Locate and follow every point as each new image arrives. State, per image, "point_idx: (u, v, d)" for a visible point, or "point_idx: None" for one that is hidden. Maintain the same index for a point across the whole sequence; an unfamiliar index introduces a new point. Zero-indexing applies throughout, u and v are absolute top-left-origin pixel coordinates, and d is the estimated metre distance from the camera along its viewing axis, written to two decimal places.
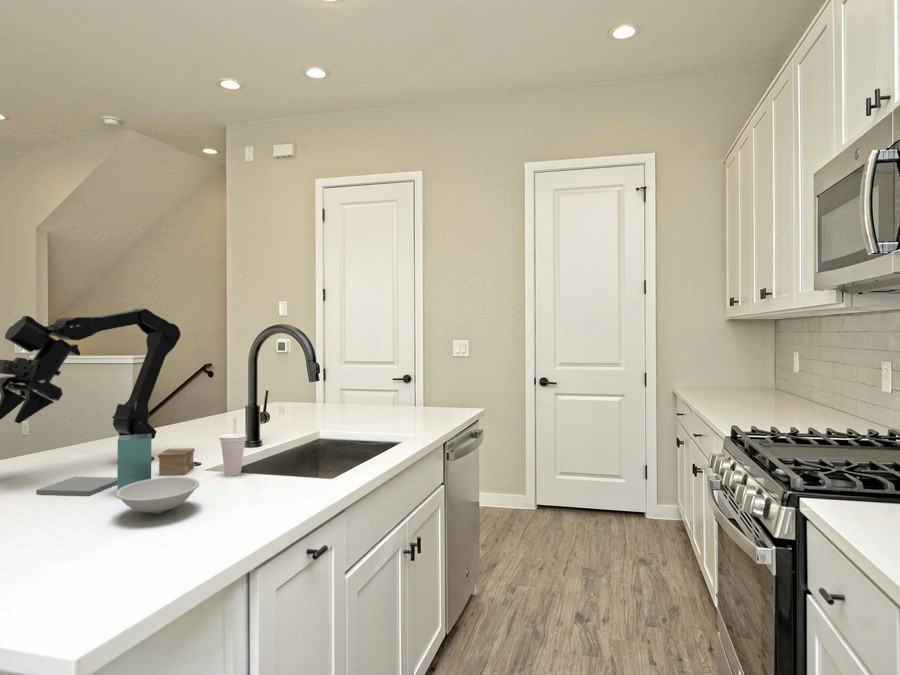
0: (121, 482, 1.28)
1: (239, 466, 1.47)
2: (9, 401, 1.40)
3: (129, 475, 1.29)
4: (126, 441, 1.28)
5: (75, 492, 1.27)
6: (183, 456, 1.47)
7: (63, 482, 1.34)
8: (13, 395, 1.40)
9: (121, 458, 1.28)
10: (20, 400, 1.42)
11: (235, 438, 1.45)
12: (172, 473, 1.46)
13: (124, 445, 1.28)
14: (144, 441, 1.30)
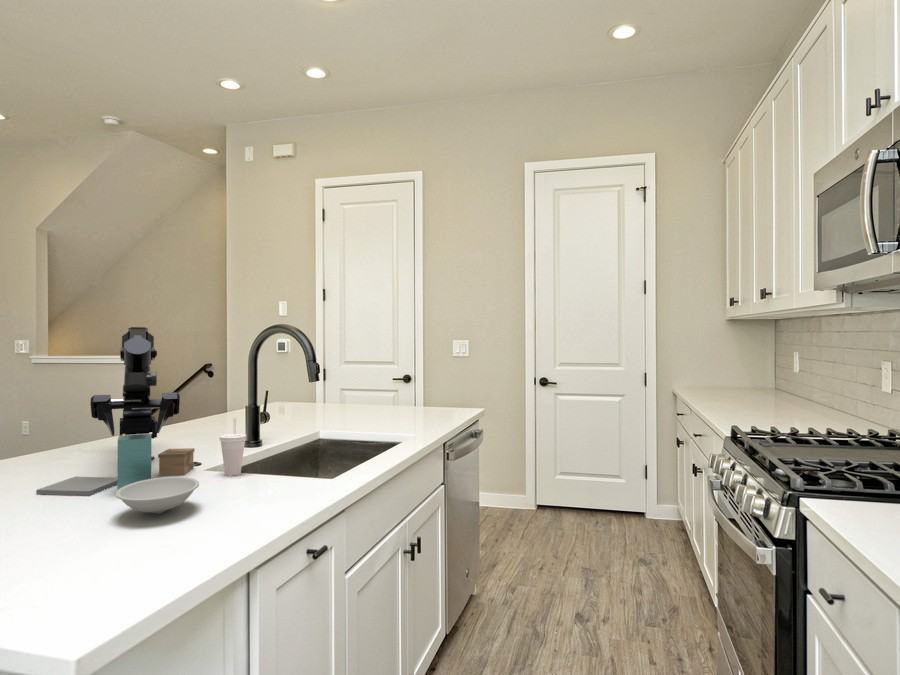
0: (121, 482, 1.28)
1: (239, 466, 1.47)
2: None
3: (129, 475, 1.29)
4: (126, 441, 1.28)
5: (75, 492, 1.27)
6: (183, 456, 1.47)
7: (63, 482, 1.34)
8: None
9: (121, 458, 1.28)
10: None
11: (235, 438, 1.45)
12: (172, 473, 1.46)
13: (124, 445, 1.28)
14: (144, 441, 1.30)
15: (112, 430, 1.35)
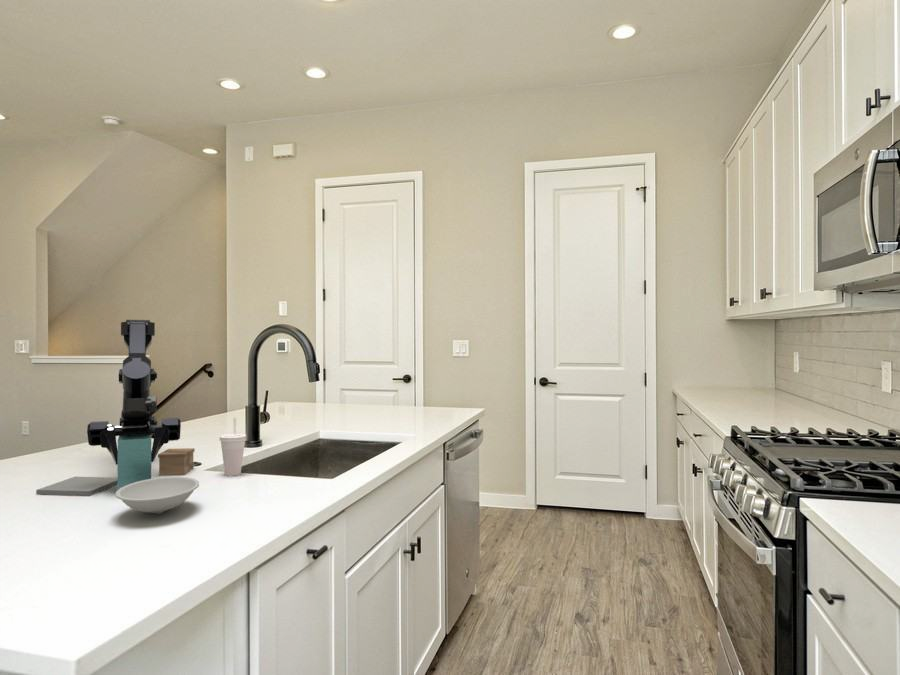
0: (121, 482, 1.28)
1: (239, 466, 1.47)
2: None
3: (129, 475, 1.29)
4: (126, 441, 1.28)
5: (75, 492, 1.27)
6: (183, 456, 1.47)
7: (63, 482, 1.34)
8: None
9: (121, 458, 1.28)
10: None
11: (235, 438, 1.45)
12: (172, 473, 1.46)
13: (124, 445, 1.28)
14: (144, 441, 1.30)
15: (116, 459, 1.29)
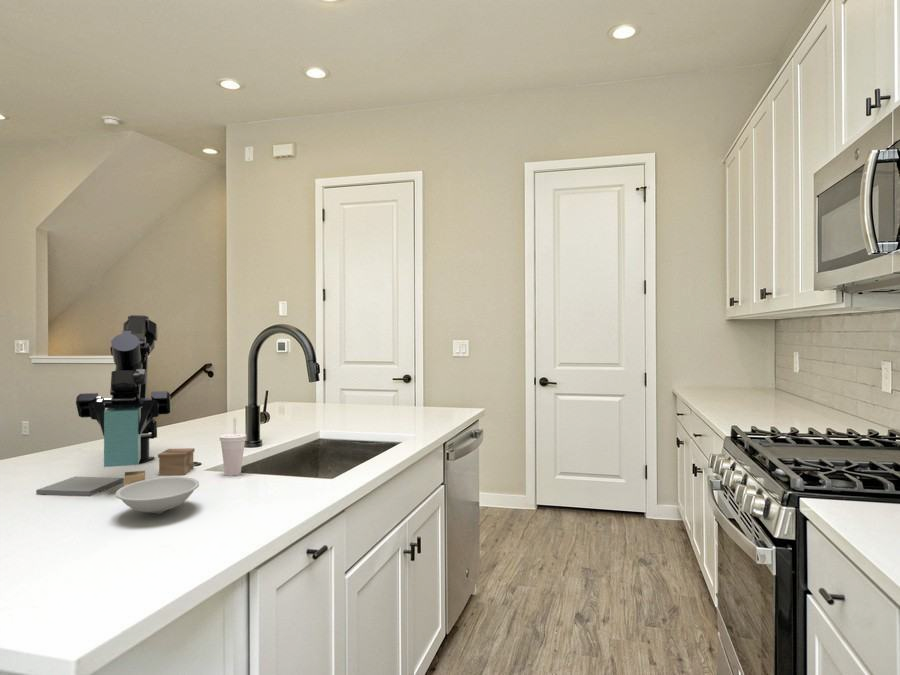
0: (108, 453, 1.28)
1: (239, 466, 1.47)
2: None
3: (116, 447, 1.29)
4: (112, 413, 1.28)
5: (75, 492, 1.27)
6: (183, 456, 1.47)
7: (63, 482, 1.34)
8: None
9: (108, 429, 1.28)
10: None
11: (235, 438, 1.45)
12: (172, 473, 1.46)
13: (111, 416, 1.28)
14: (131, 413, 1.30)
15: (103, 430, 1.29)
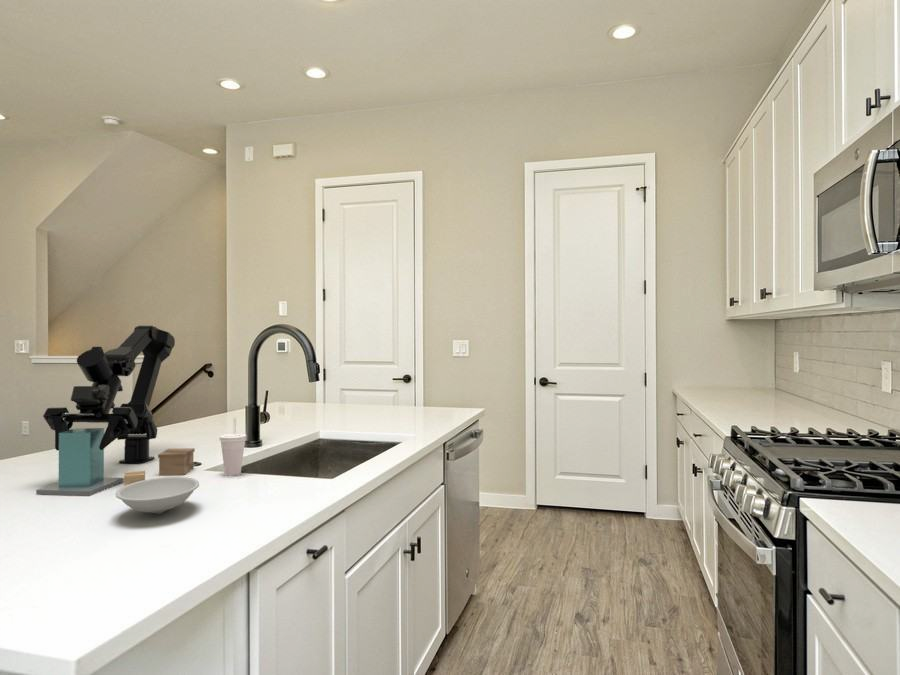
0: (62, 474, 1.30)
1: (239, 466, 1.47)
2: None
3: (69, 468, 1.30)
4: (66, 435, 1.30)
5: (75, 492, 1.27)
6: (183, 456, 1.47)
7: None
8: (65, 426, 1.36)
9: (62, 450, 1.30)
10: None
11: (235, 438, 1.45)
12: (172, 473, 1.46)
13: (65, 438, 1.30)
14: (83, 435, 1.31)
15: (56, 445, 1.32)
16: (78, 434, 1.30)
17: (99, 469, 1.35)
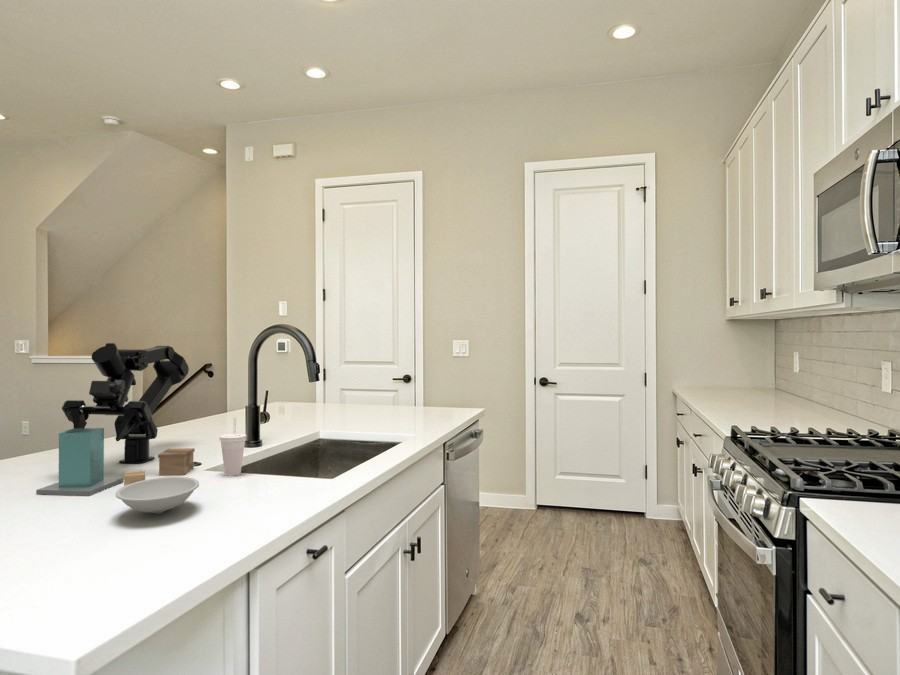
0: (62, 474, 1.30)
1: (239, 466, 1.47)
2: (81, 423, 1.43)
3: (69, 468, 1.30)
4: (66, 435, 1.30)
5: (75, 492, 1.27)
6: (183, 456, 1.47)
7: None
8: (82, 418, 1.44)
9: (62, 450, 1.30)
10: (84, 423, 1.45)
11: (235, 438, 1.45)
12: (172, 473, 1.46)
13: (65, 438, 1.30)
14: (83, 435, 1.31)
15: None
16: (78, 434, 1.30)
17: (99, 469, 1.35)
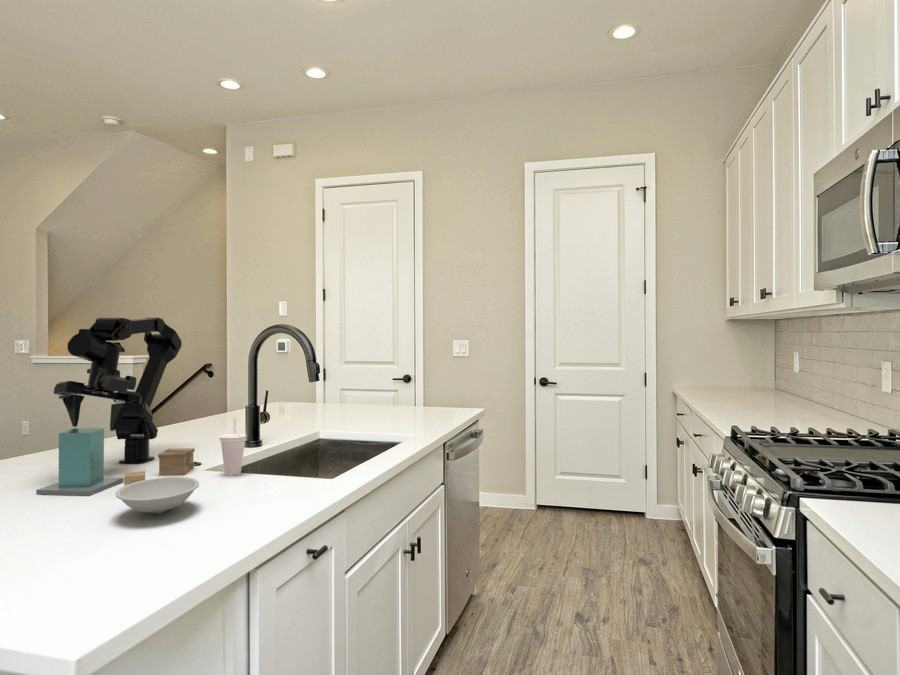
0: (62, 474, 1.30)
1: (239, 466, 1.47)
2: None
3: (69, 468, 1.30)
4: (66, 435, 1.30)
5: (75, 492, 1.27)
6: (183, 456, 1.47)
7: None
8: None
9: (62, 450, 1.30)
10: None
11: (235, 438, 1.45)
12: (172, 473, 1.46)
13: (65, 438, 1.30)
14: (83, 435, 1.31)
15: (76, 423, 1.39)
16: (78, 434, 1.30)
17: (99, 469, 1.35)
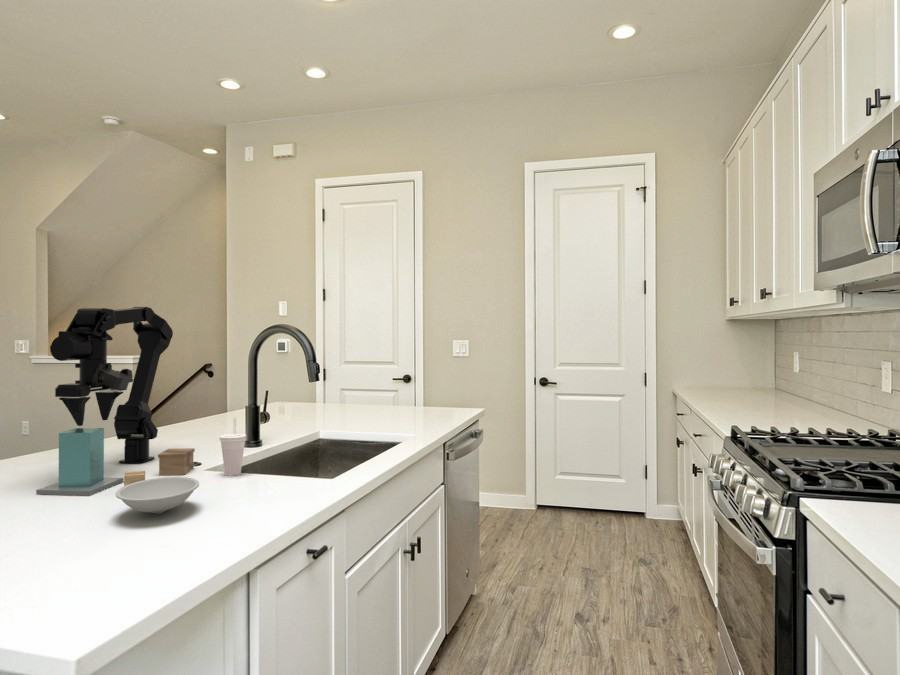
0: (62, 474, 1.30)
1: (239, 466, 1.47)
2: None
3: (69, 468, 1.30)
4: (66, 435, 1.30)
5: (75, 492, 1.27)
6: (183, 456, 1.47)
7: None
8: None
9: (62, 450, 1.30)
10: None
11: (235, 438, 1.45)
12: (172, 473, 1.46)
13: (65, 438, 1.30)
14: (83, 435, 1.31)
15: (82, 422, 1.40)
16: (78, 434, 1.30)
17: (99, 469, 1.35)
